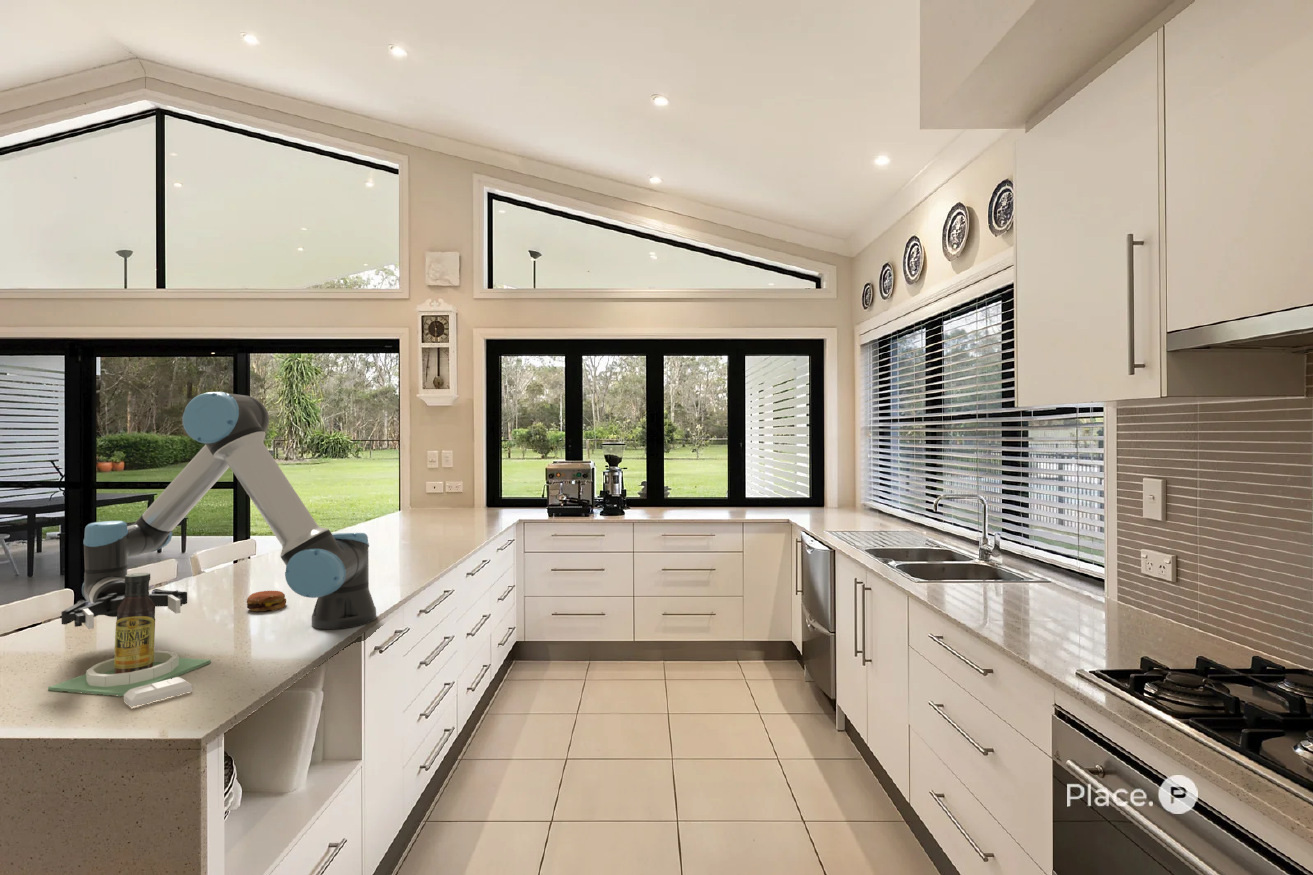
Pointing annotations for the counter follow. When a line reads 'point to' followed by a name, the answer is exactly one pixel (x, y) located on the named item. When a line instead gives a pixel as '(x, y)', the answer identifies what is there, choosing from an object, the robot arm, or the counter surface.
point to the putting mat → (124, 688)
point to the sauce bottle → (135, 626)
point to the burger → (266, 601)
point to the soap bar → (157, 691)
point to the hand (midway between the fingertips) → (136, 613)
